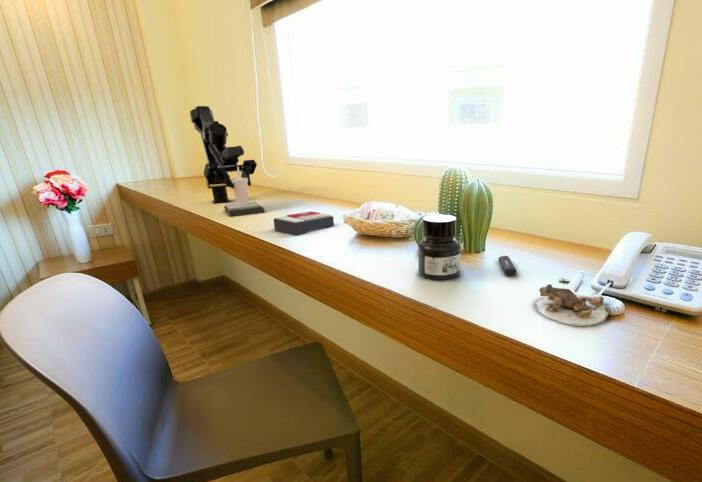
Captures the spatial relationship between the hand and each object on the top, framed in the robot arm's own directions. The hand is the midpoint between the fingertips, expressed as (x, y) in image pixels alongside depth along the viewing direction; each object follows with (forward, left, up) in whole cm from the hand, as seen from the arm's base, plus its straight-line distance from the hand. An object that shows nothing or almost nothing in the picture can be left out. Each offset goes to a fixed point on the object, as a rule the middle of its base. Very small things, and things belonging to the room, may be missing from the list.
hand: (241, 186), depth 145 cm
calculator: (+38, +11, -10) cm, 40 cm away
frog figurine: (+122, +30, -10) cm, 126 cm away
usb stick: (+101, +36, -10) cm, 107 cm away
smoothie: (-1, 0, -7) cm, 7 cm away
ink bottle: (+95, +22, -10) cm, 98 cm away
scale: (-1, 0, -10) cm, 10 cm away
